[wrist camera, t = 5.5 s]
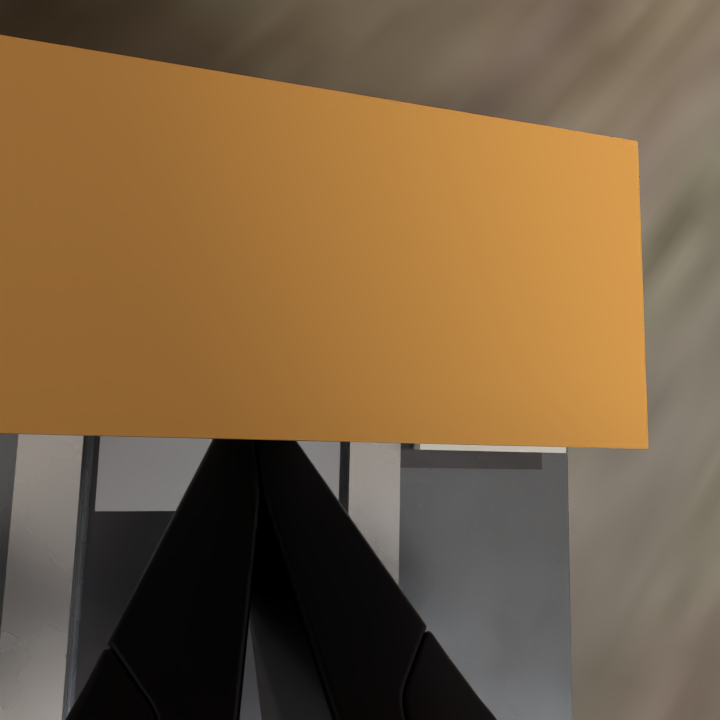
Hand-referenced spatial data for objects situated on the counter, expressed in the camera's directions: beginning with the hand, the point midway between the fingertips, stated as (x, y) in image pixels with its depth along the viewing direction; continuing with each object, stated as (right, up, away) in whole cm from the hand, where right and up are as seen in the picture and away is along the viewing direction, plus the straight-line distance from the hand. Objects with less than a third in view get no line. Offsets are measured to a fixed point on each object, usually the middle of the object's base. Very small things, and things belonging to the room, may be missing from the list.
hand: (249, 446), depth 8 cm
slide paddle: (-2, 0, +6) cm, 6 cm away
